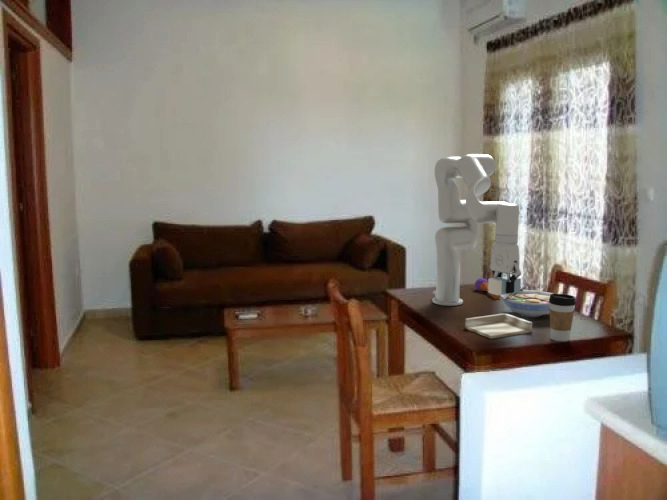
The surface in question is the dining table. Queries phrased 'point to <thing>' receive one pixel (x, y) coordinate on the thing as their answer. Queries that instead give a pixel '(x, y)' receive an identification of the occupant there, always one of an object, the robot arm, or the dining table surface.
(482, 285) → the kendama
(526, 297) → the ramen bowl
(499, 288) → the light blue white block
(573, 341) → the dining table surface
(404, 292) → the dining table surface
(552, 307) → the coffee cup
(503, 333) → the beige tray
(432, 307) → the dining table surface
